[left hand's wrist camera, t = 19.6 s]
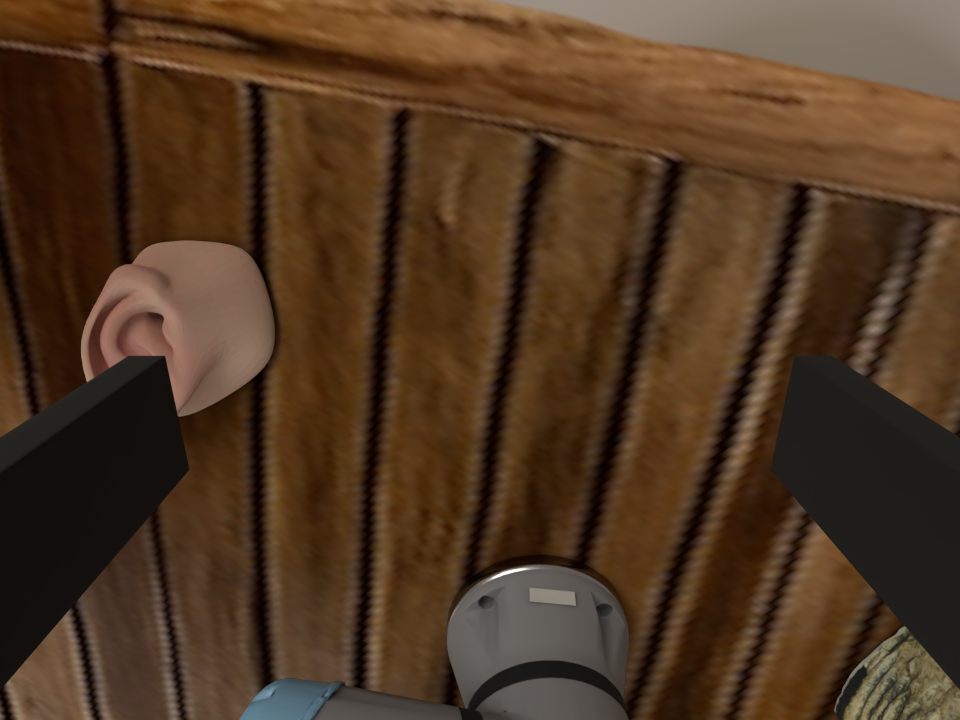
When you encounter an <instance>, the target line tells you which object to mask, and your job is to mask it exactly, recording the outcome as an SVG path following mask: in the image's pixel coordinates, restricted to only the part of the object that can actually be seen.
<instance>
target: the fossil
mask: <svg viewBox="0 0 960 720" xmlns="http://www.w3.org/2000/svg"><path fill="white" fill-rule="evenodd" d="M834 711H835V712H836V714H837V716H838V718H839V720H960V690H959V689H958V687H957V686H956V685H955V684H954V683H953V682H952V680H951V679H950V678H949V677H948V676H947V675H946V673H945V672H944V671H943V670H942V669H941V668H940V666H939V665H938V664H937V663H936V662H935V661H934V659H933V658H932V657H931V656H930V655H929V654H928V652H927V651H926V650H925V649H924V648H923V647H922V645H921V644H920V643H919V642H918V641H917V640H916V638H915V637H914V636H913V635H912V634H911V633H910V632H909V630H908V629H907V628H906V627H905V626H904V627H902V628H901V629H899V631H898V632H897V633H896V635H894V636H892V637H891V638H889V639H887V640H886V641H884V642H883V643H882V644H881V645H879V646H878V647H877V648H876V649H875V650H874V651H873V652H872V653H871V654H870V655H868V656H867V657H866V658H865V659H864V660H863V661H862V662H861V663H860V664H859V665H858V666H857V667H856V668H855V669H854V671H853V672H852V673H851V675H850V676H849V678H848V680H847V682H846V683H845V685H844V687H843V689H842V693H841V695H840V696H839V697H838V699H837V702H836V705H835V709H834Z"/></svg>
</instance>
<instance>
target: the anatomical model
mask: <svg viewBox="0 0 960 720" xmlns="http://www.w3.org/2000/svg"><path fill="white" fill-rule="evenodd" d="M274 342H275V324H274V317H273V311H272V307H271V303H270V298H269V295H268V292H267V288H266V285H265V282H264V280H263V277H262V274H261V272H260V270H259V268H258V266H257V264H256V263H255V261H254V260H253V258H252V257H251V256H250V255H249V254H248V253H247V252H246V251H244V250H243V249H241V248H239V247H236V246H233V245H229V244H223V243H217V242H204V241H185V240H184V241H173V242H162V243H157V244H153V245H151V246H149V247H147V248H145V249H144V250H143V251H142V252H141V253H140V254H139V255H138V256H137V258H136V259H135V261H134V262H133V264H128V265H123V266H121V267H118V268H117V269H116V270H115V271H113V273H112V274H111V275H110V277H109V279H108V281H107V283H106V285H105V287H104V289H103V291H102V293H101V295H100V296H99V298H98V300H97V302H96V304H95V306H94V307H93V309H92V311H91V313H90V315H89V317H88V320H87V322H86V325H85V328H84V331H83V335H82V342H81V356H82V363H83V369H84V372H85V376H86V379H87V382H88V381H90V380H91V379H93V378H95V377H96V376H98V375H99V374H101V373H102V372H104V371H105V370H107V369H109V368H110V367H112V366H113V365H115V364H116V363H118V362H120V361H121V360H123V359H124V358H126V357H127V356H165V357H166V362H167V367H168V371H169V376H170V381H171V385H172V390H173V395H174V400H175V404H176V409H177V414H178V416H185V415H190V414H192V413H195V412H198V411H200V410H202V409H204V408H206V407H208V406H210V405H212V404H214V403H216V402H218V401H219V400H221V399H223V398H224V397H226V396H228V395H229V394H231V393H233V392H234V391H236V390H237V389H239V388H240V387H242V386H243V385H244V384H246V383H247V382H249V381H250V380H251V379H252V378H253V377H255V376H256V375H257V374H258V373H259V372H260V371H261V370H262V369H263V368H264V367H265V365H266V364H267V363H268V361H269V359H270V357H271V355H272V352H273V348H274Z"/></svg>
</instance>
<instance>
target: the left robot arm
mask: <svg viewBox="0 0 960 720" xmlns="http://www.w3.org/2000/svg"><path fill="white" fill-rule="evenodd" d="M188 471H189V466H188V461H187V456H186V452H185V447H184V442H183V438H182V433H181V428H180V423H179V419H178V414H177V409H176V404H175V400H174V395H173V390H172V385H171V381H170V376H169V371H168V367H167V362H166V357H165V356H127V357H126V358H124V359H123V360H121V361H120V362H118V363H116V364H115V365H113V366H112V367H110V368H109V369H107V370H105V371H104V372H102V373H101V374H99V375H98V376H96V377H95V378H93V379H91V380H90V381H88V382H87V383H85V384H84V385H82V386H80V387H79V388H77V389H76V390H74V391H73V392H71V393H69V394H68V395H66V396H65V397H63V398H62V399H60V400H59V401H57V402H55V403H54V404H52V405H51V406H49V407H48V408H46V409H44V410H43V411H41V412H40V413H38V414H37V415H35V416H33V417H32V418H30V419H29V420H27V421H26V422H24V423H23V424H21V425H19V426H18V427H16V428H15V429H13V430H12V431H10V432H8V433H7V434H5V435H4V436H2V437H1V438H0V690H1V689H2V687H3V686H4V685H5V684H6V683H7V682H8V680H9V679H10V678H11V677H12V676H13V675H14V673H15V672H16V671H17V670H18V669H19V668H20V666H21V665H22V664H23V663H24V662H25V661H26V659H27V658H28V657H29V656H30V655H31V654H32V652H33V651H34V650H35V649H36V648H37V647H38V645H39V644H40V643H41V642H42V641H43V640H44V638H45V637H46V636H47V635H48V634H49V633H50V632H51V630H52V629H53V628H54V627H55V626H56V625H57V623H58V622H59V621H60V620H61V619H62V618H63V616H64V615H65V614H66V613H67V612H68V611H69V609H70V608H71V607H72V606H73V605H74V604H75V602H76V601H77V600H78V599H79V598H80V597H81V595H82V594H83V593H84V592H85V591H86V590H87V588H88V587H89V586H90V585H91V584H92V583H93V581H94V580H95V579H96V578H97V577H98V576H99V574H100V573H101V572H102V571H103V570H104V569H105V567H106V566H107V565H108V564H109V563H110V562H111V560H112V559H113V558H114V557H115V556H116V555H117V553H118V552H119V551H120V550H121V549H122V548H123V546H124V545H125V544H126V543H127V542H128V541H129V539H130V538H131V537H132V536H133V535H134V534H135V532H136V531H137V530H138V529H139V528H140V527H141V525H142V524H143V523H144V522H145V521H146V520H147V518H148V517H149V516H150V515H151V514H152V513H153V512H154V510H155V509H156V508H157V507H158V506H159V505H160V503H161V502H162V501H163V500H164V499H165V498H166V496H167V495H168V494H169V493H170V492H171V491H172V489H173V488H174V487H175V486H176V485H177V484H178V482H179V481H180V480H181V479H182V478H183V477H184V475H185V474H186V473H187V472H188ZM771 471H772V472H773V473H774V474H775V475H776V477H777V478H778V479H779V480H780V481H781V482H782V484H783V485H784V486H785V487H786V488H787V489H788V491H789V492H790V493H791V494H792V495H793V496H794V498H795V499H796V500H797V501H798V502H799V503H800V505H801V506H802V507H803V508H804V509H805V510H806V512H807V513H808V514H809V515H810V516H811V517H812V518H813V520H814V521H815V522H816V523H817V524H818V525H819V527H820V528H821V529H822V530H823V531H824V532H825V534H826V535H827V536H828V537H829V538H830V539H831V541H832V542H833V543H834V544H835V545H836V546H837V548H838V549H839V550H840V551H841V552H842V553H843V555H844V556H845V557H846V558H847V559H848V560H849V562H850V563H851V564H852V565H853V566H854V567H855V569H856V570H857V571H858V572H859V573H860V574H861V576H862V577H863V578H864V579H865V580H866V581H867V583H868V584H869V585H870V586H871V587H872V588H873V590H874V591H875V592H876V593H877V594H878V595H879V597H880V598H881V599H882V600H883V601H884V602H885V604H886V605H887V606H888V607H889V608H890V609H891V611H892V612H893V613H894V614H895V615H896V616H897V618H898V619H899V620H900V621H901V622H902V623H903V625H904V626H905V627H906V628H907V629H908V630H909V632H910V633H911V634H912V635H913V636H914V637H915V638H916V640H917V641H918V642H919V643H920V644H921V645H922V647H923V648H924V649H925V650H926V651H927V652H928V654H929V655H930V656H931V657H932V658H933V659H934V661H935V662H936V663H937V664H938V665H939V666H940V668H941V669H942V670H943V671H944V672H945V673H946V675H947V676H948V677H949V678H950V679H951V680H952V682H953V683H954V684H955V685H956V686H957V687H958V689H959V690H960V438H959V437H958V436H956V435H955V434H953V433H952V432H950V431H948V430H947V429H945V428H944V427H942V426H941V425H939V424H937V423H936V422H934V421H933V420H931V419H930V418H928V417H927V416H925V415H923V414H922V413H920V412H919V411H917V410H916V409H914V408H912V407H911V406H909V405H908V404H906V403H905V402H903V401H901V400H900V399H898V398H897V397H895V396H894V395H892V394H891V393H889V392H887V391H886V390H884V389H883V388H881V387H880V386H878V385H876V384H875V383H873V382H872V381H870V380H869V379H867V378H865V377H864V376H862V375H861V374H859V373H858V372H856V371H855V370H853V369H851V368H850V367H848V366H847V365H845V364H844V363H842V362H840V361H839V360H837V359H836V358H834V357H833V356H795V357H794V362H793V366H792V371H791V376H790V381H789V385H788V390H787V395H786V400H785V404H784V409H783V414H782V419H781V423H780V428H779V433H778V438H777V442H776V447H775V452H774V456H773V461H772V466H771ZM447 649H448V653H449V658H450V662H451V665H452V668H453V671H454V674H455V677H456V680H457V683H458V687H459V690H460V693H461V696H462V699H463V702H464V705H465V708H466V709H465V708H460V707H455V706H449V705H444V704H439V703H434V702H428V701H423V700H418V699H413V698H407V697H402V696H397V695H392V694H386V693H381V692H376V691H371V690H365V689H360V688H355V687H350V686H345V682H343V681H335V682H334V683H325V682H317V681H310V680H302V679H295V678H285V679H280V680H277V681H275V682H273V683H271V684H269V685H268V686H266V687H265V688H264V689H263V690H262V691H261V692H260V693H259V694H258V695H257V696H256V697H255V698H254V699H253V701H252V702H251V703H250V704H249V706H248V707H247V709H246V710H245V712H244V713H243V715H242V716H241V718H240V720H629V719H628V715H627V711H626V707H625V703H624V690H625V679H626V669H627V659H628V649H629V627H628V622H627V618H626V615H625V611H624V608H623V605H622V602H621V599H620V597H619V595H618V594H617V592H616V590H615V589H614V588H613V586H612V585H611V584H610V583H609V582H608V581H607V580H606V579H605V578H604V577H603V576H602V575H600V574H599V573H598V572H596V571H595V570H593V569H591V568H590V567H588V566H586V565H584V564H582V563H579V562H576V561H574V560H570V559H566V558H562V557H557V556H548V555H531V556H522V557H516V558H512V559H508V560H505V561H501V562H499V563H496V564H494V565H492V566H490V567H488V568H486V569H484V570H482V571H481V572H479V573H478V574H476V575H475V576H473V577H472V578H471V579H470V580H469V581H468V582H467V583H466V584H465V585H464V586H463V587H462V588H461V589H460V591H459V592H458V593H457V595H456V597H455V598H454V600H453V602H452V605H451V607H450V611H449V615H448V623H447Z"/></svg>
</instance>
